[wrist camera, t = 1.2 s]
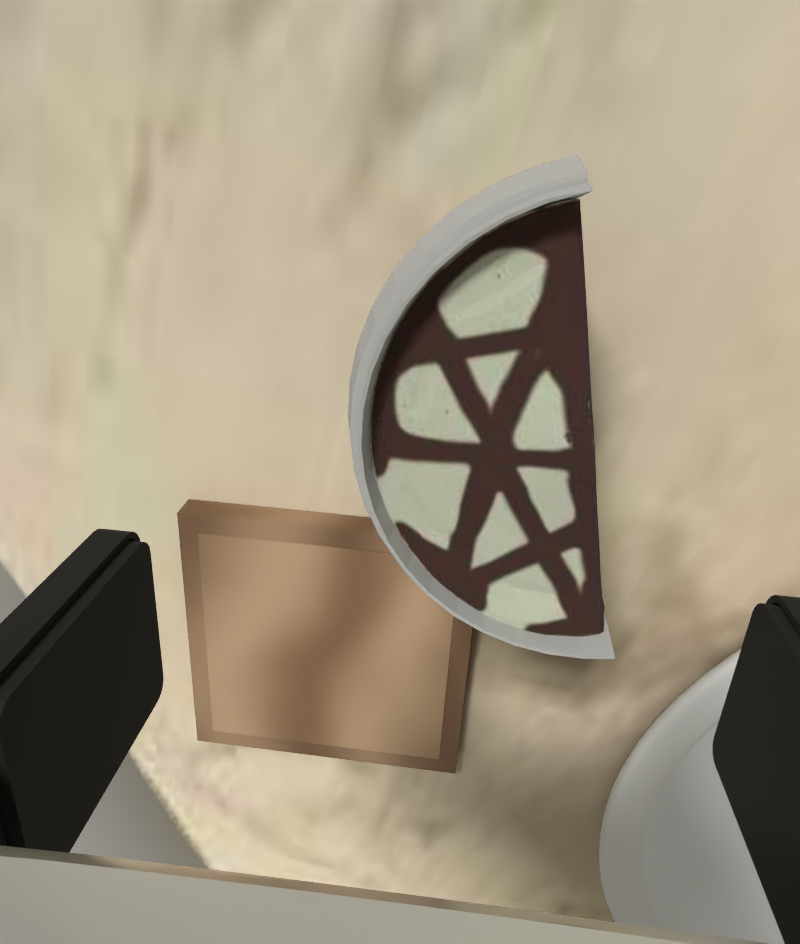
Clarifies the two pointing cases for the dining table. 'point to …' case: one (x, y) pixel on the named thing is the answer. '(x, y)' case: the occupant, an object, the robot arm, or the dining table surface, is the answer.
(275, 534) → the board
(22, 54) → the dining table surface
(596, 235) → the dining table surface
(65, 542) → the dining table surface
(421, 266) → the food container
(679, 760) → the soup bowl
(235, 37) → the dining table surface
